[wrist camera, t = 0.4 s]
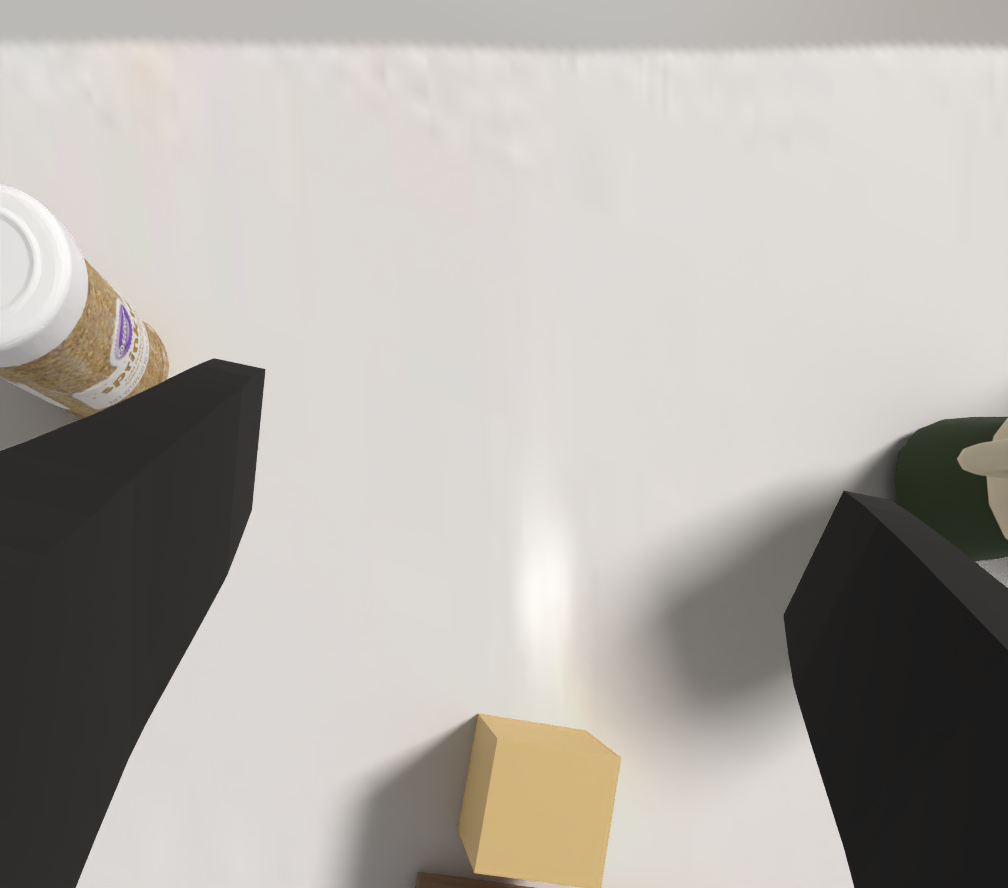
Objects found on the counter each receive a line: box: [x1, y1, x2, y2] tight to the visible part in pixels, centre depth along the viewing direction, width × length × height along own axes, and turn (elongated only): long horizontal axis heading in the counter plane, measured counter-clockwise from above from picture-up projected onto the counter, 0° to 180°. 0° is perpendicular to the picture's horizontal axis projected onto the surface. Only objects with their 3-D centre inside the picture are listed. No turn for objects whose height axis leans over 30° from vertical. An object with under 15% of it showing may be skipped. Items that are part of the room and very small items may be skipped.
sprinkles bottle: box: [0, 184, 169, 419], centre depth 29 cm, size 5×5×13 cm
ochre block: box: [458, 714, 621, 888], centre depth 34 cm, size 4×4×5 cm
